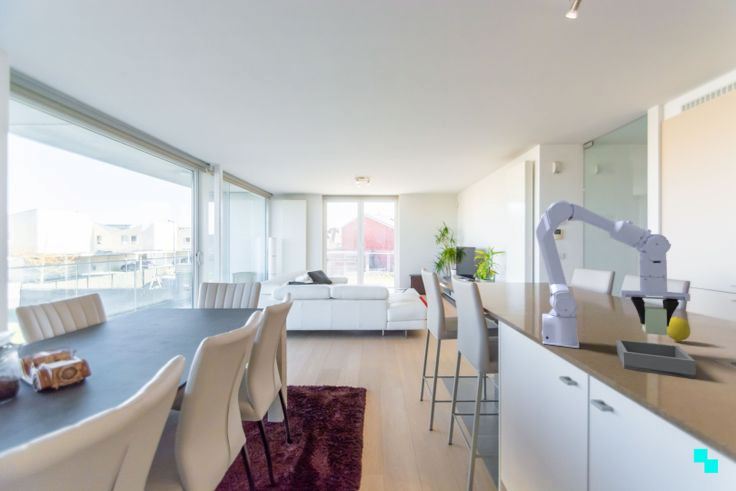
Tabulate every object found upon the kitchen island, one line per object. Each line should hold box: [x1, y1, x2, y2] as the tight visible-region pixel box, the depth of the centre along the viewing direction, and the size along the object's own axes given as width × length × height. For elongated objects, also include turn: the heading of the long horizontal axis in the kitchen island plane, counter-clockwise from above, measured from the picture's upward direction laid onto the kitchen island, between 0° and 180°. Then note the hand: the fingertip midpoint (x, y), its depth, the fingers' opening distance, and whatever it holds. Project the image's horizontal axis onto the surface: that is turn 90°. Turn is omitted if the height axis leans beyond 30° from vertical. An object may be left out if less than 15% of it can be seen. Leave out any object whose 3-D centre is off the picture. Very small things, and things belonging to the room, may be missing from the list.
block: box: [641, 305, 668, 336], centre depth 89 cm, size 4×4×7 cm
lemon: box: [666, 315, 691, 343], centre depth 98 cm, size 6×6×8 cm
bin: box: [615, 338, 697, 380], centre depth 80 cm, size 13×13×4 cm
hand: (654, 324), depth 89 cm, fingers closed on block, 4 cm apart
